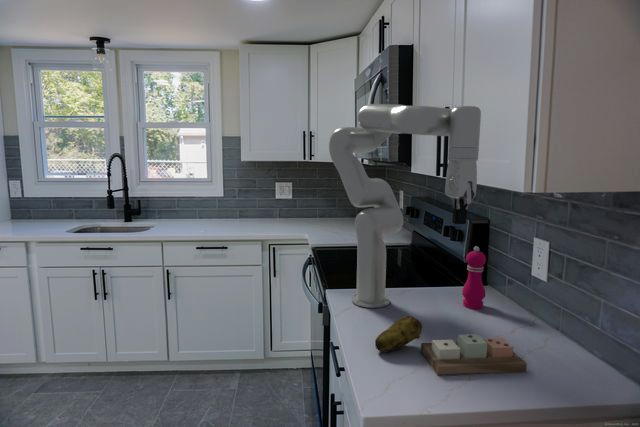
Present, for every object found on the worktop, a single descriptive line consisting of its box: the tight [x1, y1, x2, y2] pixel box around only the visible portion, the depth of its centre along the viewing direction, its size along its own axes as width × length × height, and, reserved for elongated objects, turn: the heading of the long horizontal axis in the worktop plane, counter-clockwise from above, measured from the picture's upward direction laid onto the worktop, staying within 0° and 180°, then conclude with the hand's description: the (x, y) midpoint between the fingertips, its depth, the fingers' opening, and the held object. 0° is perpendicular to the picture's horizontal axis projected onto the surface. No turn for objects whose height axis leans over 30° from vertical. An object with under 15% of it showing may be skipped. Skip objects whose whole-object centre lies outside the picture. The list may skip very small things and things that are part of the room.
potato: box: [374, 315, 423, 353], centre depth 109 cm, size 8×13×8 cm, turn 98°
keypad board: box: [420, 341, 528, 377], centre depth 103 cm, size 12×21×2 cm, turn 95°
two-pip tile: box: [457, 333, 487, 359], centre depth 102 cm, size 5×5×4 cm
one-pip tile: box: [431, 339, 460, 360], centre depth 102 cm, size 5×5×4 cm
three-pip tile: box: [482, 337, 514, 358], centre depth 103 cm, size 5×5×4 cm
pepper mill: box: [461, 246, 487, 310], centre depth 138 cm, size 7×7×20 cm
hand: (459, 223), depth 114 cm, fingers closed
